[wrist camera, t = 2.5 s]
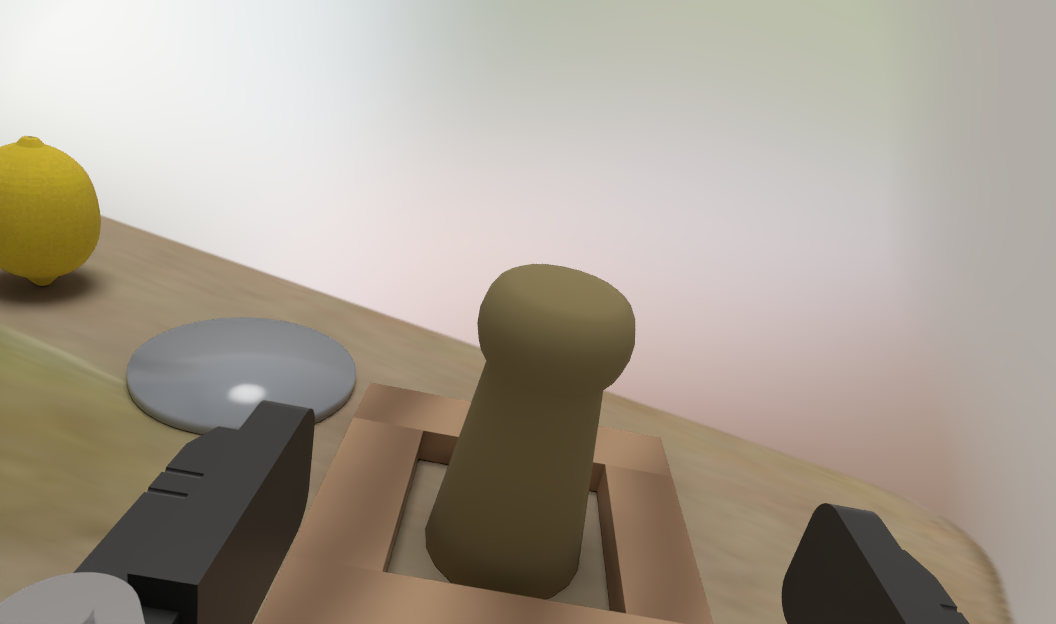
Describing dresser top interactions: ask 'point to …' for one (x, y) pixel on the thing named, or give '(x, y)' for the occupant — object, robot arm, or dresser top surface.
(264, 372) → the slate coaster
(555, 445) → the cork
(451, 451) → the walnut board
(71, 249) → the lemon
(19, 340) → the dresser top surface
